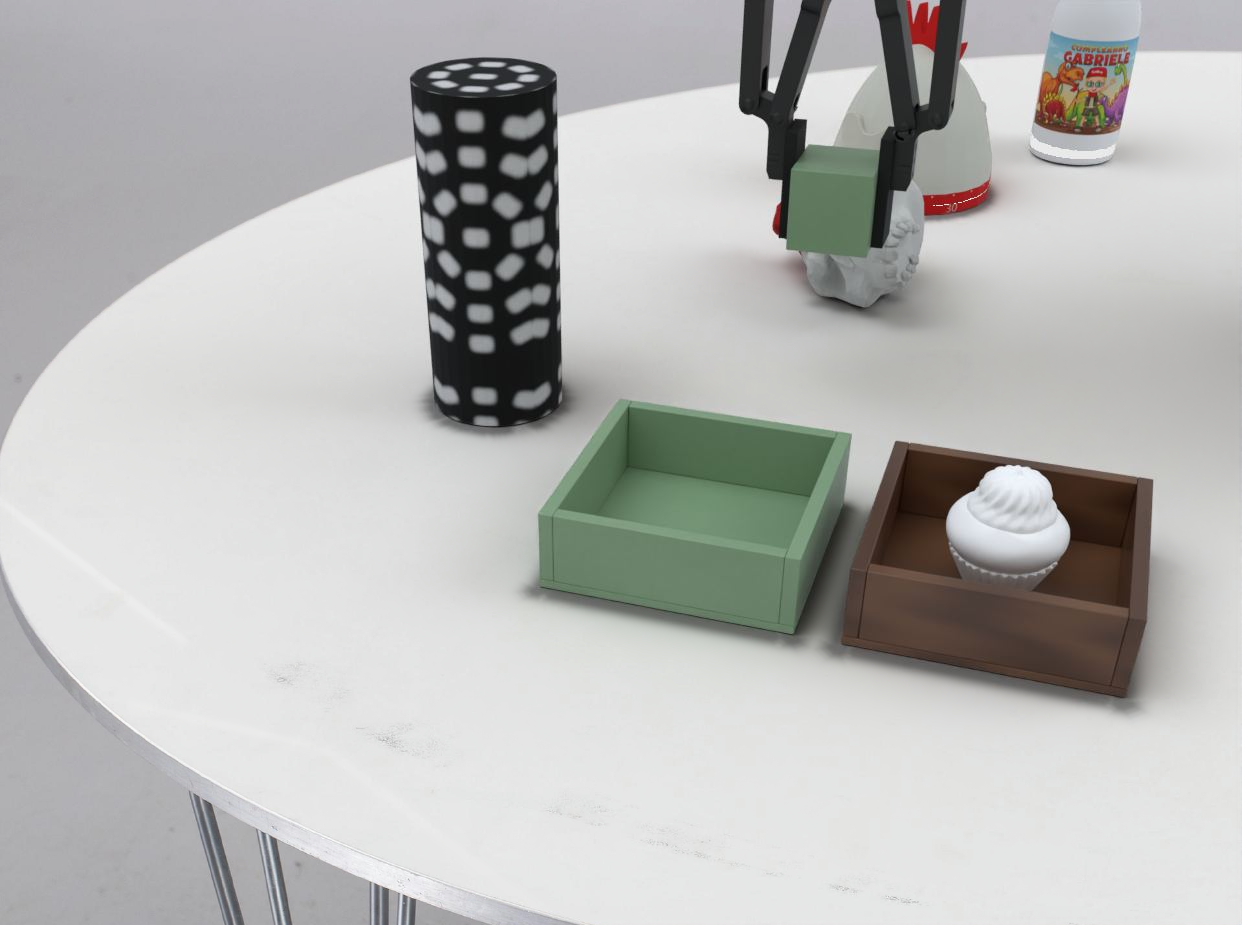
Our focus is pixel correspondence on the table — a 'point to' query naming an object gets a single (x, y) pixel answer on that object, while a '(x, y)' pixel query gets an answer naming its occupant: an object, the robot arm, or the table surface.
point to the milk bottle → (1086, 76)
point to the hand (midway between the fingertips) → (834, 234)
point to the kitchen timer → (944, 157)
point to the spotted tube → (490, 236)
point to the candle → (872, 257)
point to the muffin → (1008, 529)
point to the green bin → (696, 514)
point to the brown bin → (994, 615)
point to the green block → (832, 201)
